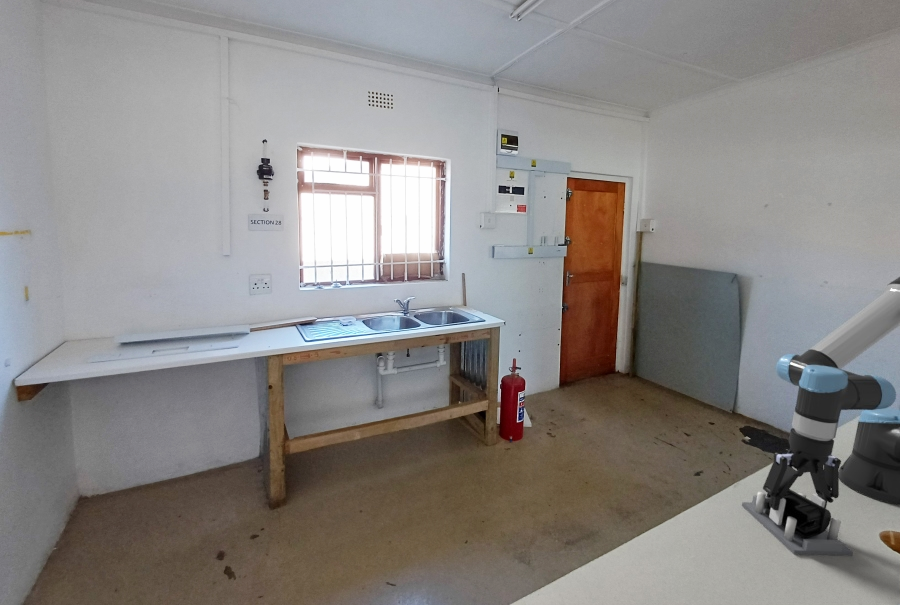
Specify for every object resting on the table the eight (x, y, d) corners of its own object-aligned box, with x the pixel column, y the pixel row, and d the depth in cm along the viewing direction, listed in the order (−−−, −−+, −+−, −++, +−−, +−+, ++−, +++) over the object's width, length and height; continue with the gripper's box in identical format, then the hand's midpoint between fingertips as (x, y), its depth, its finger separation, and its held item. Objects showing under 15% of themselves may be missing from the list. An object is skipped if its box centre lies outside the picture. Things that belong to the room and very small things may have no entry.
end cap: (828, 534, 93) (834, 507, 92) (808, 541, 91) (813, 514, 90) (780, 506, 103) (785, 482, 102) (761, 511, 100) (766, 487, 99)
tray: (791, 507, 105) (796, 486, 104) (852, 555, 89) (858, 531, 88) (741, 505, 105) (745, 484, 104) (793, 554, 89) (798, 529, 88)
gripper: (842, 426, 97) (824, 512, 101) (753, 424, 96) (738, 509, 100) (875, 443, 89) (854, 534, 93) (779, 440, 89) (761, 531, 93)
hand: (794, 521), depth 97 cm, fingers closed on end cap, 9 cm apart
